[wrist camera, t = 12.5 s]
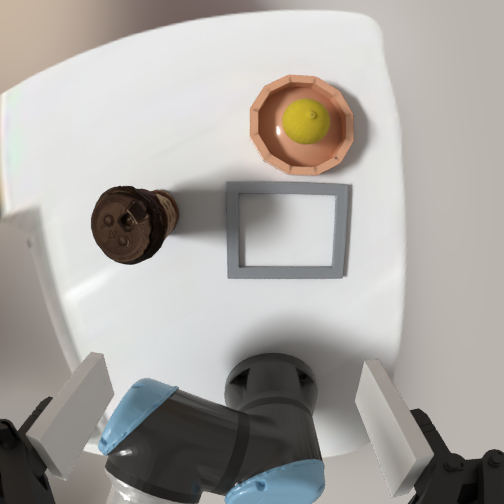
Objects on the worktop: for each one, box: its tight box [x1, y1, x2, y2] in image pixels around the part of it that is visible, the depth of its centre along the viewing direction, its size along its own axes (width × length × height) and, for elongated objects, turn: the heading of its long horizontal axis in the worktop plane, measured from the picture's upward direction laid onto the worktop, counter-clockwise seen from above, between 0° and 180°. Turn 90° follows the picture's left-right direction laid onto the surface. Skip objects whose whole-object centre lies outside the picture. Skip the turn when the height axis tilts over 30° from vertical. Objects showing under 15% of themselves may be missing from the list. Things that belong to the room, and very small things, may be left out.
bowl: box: [250, 75, 354, 176], centre depth 36 cm, size 13×13×3 cm
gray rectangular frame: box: [227, 182, 348, 279], centre depth 40 cm, size 13×16×1 cm
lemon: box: [282, 98, 330, 145], centre depth 33 cm, size 6×6×8 cm
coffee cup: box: [91, 186, 179, 265], centre depth 34 cm, size 9×8×13 cm
